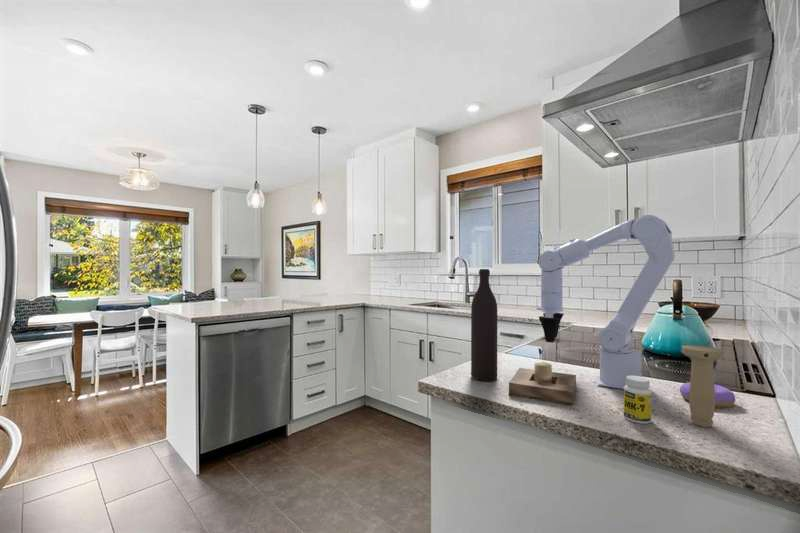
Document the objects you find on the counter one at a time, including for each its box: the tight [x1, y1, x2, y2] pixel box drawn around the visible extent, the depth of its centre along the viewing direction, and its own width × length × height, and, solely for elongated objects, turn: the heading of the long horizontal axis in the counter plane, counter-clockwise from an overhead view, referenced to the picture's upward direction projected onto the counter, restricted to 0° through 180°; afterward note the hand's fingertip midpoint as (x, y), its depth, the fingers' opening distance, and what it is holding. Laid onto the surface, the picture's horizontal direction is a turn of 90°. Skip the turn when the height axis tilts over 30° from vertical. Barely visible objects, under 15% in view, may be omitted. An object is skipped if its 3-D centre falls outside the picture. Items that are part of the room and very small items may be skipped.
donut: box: [679, 381, 736, 408], centre depth 86 cm, size 10×9×5 cm
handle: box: [681, 345, 725, 428], centre depth 74 cm, size 5×6×15 cm
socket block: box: [508, 367, 577, 406], centre depth 93 cm, size 14×14×3 cm
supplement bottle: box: [622, 376, 653, 425], centre depth 76 cm, size 5×5×8 cm
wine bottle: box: [470, 268, 498, 382], centre depth 103 cm, size 7×7×30 cm
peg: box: [534, 361, 553, 384], centre depth 93 cm, size 4×4×6 cm
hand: (551, 339), depth 109 cm, fingers open, 7 cm apart
